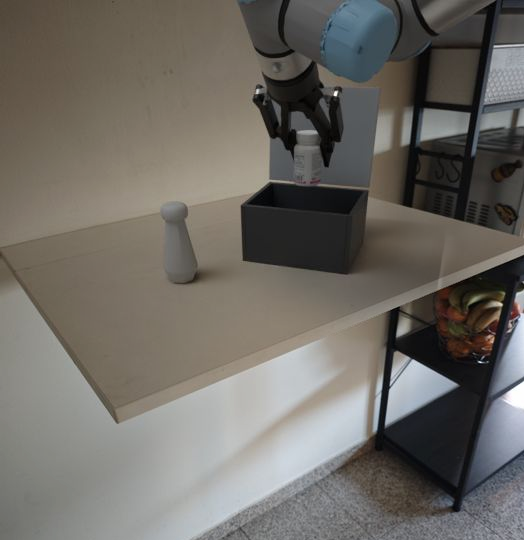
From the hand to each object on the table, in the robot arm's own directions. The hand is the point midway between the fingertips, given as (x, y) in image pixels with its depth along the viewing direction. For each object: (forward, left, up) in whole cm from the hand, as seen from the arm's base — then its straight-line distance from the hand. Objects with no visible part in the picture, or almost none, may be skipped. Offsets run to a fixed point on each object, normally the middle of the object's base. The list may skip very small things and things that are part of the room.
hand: (313, 159), depth 89 cm
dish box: (0, +4, -16) cm, 16 cm away
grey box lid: (0, -5, +3) cm, 5 cm away
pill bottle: (0, +4, -3) cm, 5 cm away
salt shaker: (+17, +22, -16) cm, 32 cm away
